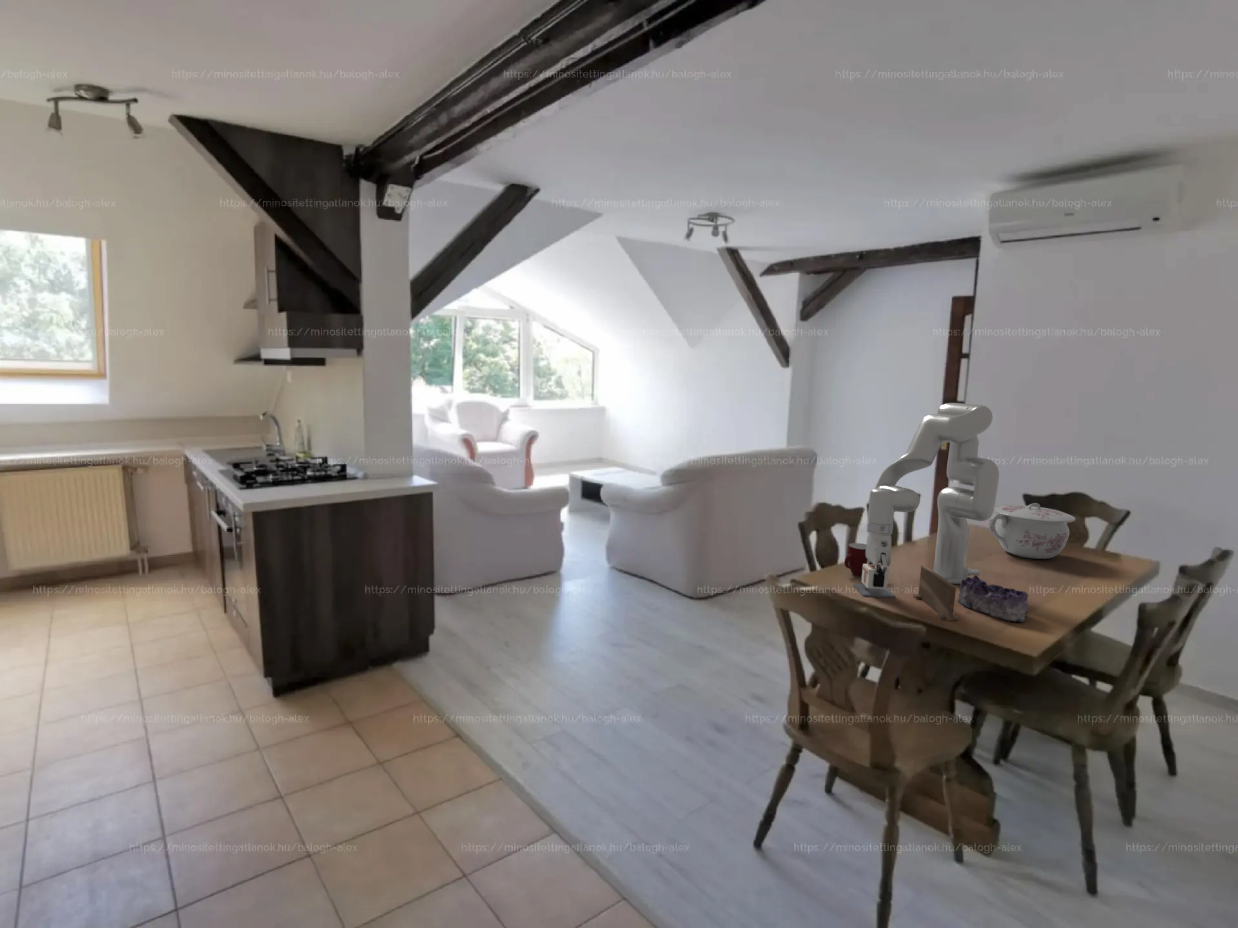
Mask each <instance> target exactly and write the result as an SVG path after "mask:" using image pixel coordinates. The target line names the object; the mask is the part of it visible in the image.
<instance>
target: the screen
mask: <svg viewBox="0 0 1238 928" xmlns="http://www.w3.org/2000/svg"><path fill="white" fill-rule="evenodd" d="M933 570H934V569H931V568H930V567H928V565H920V574H919V575H920V576H919V586H918V594H913V595H912V597H913V598H914V599H915V600H921V601H923V602H924V603H925V604H927V606H929V607H930V608H931V609H932V610H934V611H935V612H936V613H937V615H936V618H937V619H938V620H941V621H943V620H944V621H947V622H949V621H950V622H951V621H952V622H953V621H959V617H958V616H957V615H955V614H954V611H955V601H956V592H957V591H956V590H957V586H955V584H952V583H950V582H948V581H947V580H946V579H944V578H943V577H941V576H940V575H939V574H937V573H936V572H934V571H933Z"/></svg>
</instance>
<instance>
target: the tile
mask: <svg viewBox="0 0 1238 928" xmlns="http://www.w3.org/2000/svg"><path fill="white" fill-rule="evenodd" d="M852 586H853V587H854V588H855V590H857V592H858V593H859V594H860V595H861V596H862V597H867V598H868V597H870V598H871V597H874V598H896V594H894V593H893V592H892V591H891V590H890V589H889V588H888V587H887V589H880V588H867V587H866V586H865V585H864V584H863V583H861V584H860V583H859V584H858V583H852Z"/></svg>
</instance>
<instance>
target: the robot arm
mask: <svg viewBox="0 0 1238 928" xmlns="http://www.w3.org/2000/svg"><path fill="white" fill-rule="evenodd" d="M993 418H994V417H993V412H992V411H991V409H990V408H989V407H988V406H986V405H983V404H974V403H973V404H972V403H958V402H946V403H944V404H943V403H942V404H941V405H940V406H939V407H938V409H937V413H933V414H932V413H931V414H927V415H925V416H924V417H923V418H921V421H920V422H919V425H918V426H917V429H916V431H915V433H914V435H913V437H912V440H911V441H910V443H909V445H908V448H907V449H906V452H905V453H904V454H903V455H901V456H899V458H897V459H895V460H894V461H893V462H892V463H891V464H889V466H887V467H886V468H885V469H884V470H883V471H882V473H881V475H880V476H879V478H878V481H877V483H876V485H875V487H874V488H871V490H870V492H869V499H868V509H867V511H868V512H867V521H866V522H867V523H866V532H867V538H866V543H865V544H866V558H867V564H874V565H875V574H874V578H873V586H874V587H883V586H884V578H885V572H886V569H888V567H890V566H891V562H892V536H891V535H892V534H893V530H894V529H893V527H894V519H895V517H894V516H895V513H896V512H897V513H898V512H899V513H911V512H914V511H915V510H917V509H918V507H919V505H920V503H921V499H920V495H919V494H918V493H917V491H915V490H914V489H911V488H907V487H902V486H900V485H899V486H898V485H897V483H898V482H899V481H900V480H901V479H902V478H903V477H904V476H906V475H908V474H910V473H913V472H916V471H919V470H922V469H926V468H929V467H931V466H932V465H933V463H934V461H935V459H936V457H937V455H938V453H939V451H940V449H941V446H942V444H943V443H949V448H948V450H949V451H948V457H947V463H946V464H947V465H946V477H947V479H948V480H949V481H950V482H952V483H955V484H960V485H964V486H970V487H973V489H969V488H965V487H960V486H959V487H958V486H947V487H945V488H942V490H940V491H939V493H938V495H937V500H936V501H937V503H936V504H937V511H938V512H937V513H938V524H937V533H936V543H935V552H934V562H933V569H932V570H933V571H934V572H936V573H937V574H939V575H940V576H941V577H943V578H944V579H946V580H947V581H948V582H950V583H951V584H953V585H956V584H957V585H961V582H962V580H965V579H966V578H968V577H969V576H975V575H977V576H980V573H981V572H980V570H979V569H972V567H970V568H969V567H967V566H966V563H967V556H968V544H969V538H970V537H969V536H970V526H969V523H968V520H972V521H977V522H985V521H986V522H987V521H989V520H990V518H991V517H992V516H993V513H994V512H995V511H994V508H995V507H996V506H995V505H996V502H997V501H996V499H997V493H998V488H999V487H998V486H999V482H1000V481H999V480H1000V471H999V466H998V465H997V463H996V462H995V461H993V460H992V459H988V458H983V457H979V455H978V453H979V452H978V451H979V437H978V435H980V434H982V433H984V432H985V431H986V430H988V428H989V427H990V426H991V425H992V422H993ZM967 519H968V520H967ZM878 567H881V568H879V569H878Z"/></svg>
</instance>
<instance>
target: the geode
mask: <svg viewBox="0 0 1238 928" xmlns="http://www.w3.org/2000/svg"><path fill="white" fill-rule="evenodd" d="M957 594H958V599H957V603H958V604H960V605H961V606H963V607H964V608H969V609H972V610H974V611H978V612H981V613H984V614H986V615H989V616H992V617H994V618H998V619H1002V620H1006V621H1011V622H1017V623H1020V624H1022V623H1024V622H1025V620H1026V615H1027V614H1028V611H1029V602H1028V598H1029V594H1028V593H1027V592H1026V591H1023V590H1016V589H1014V588H1011V587H1010V588H1008V587H1003V586H1002V585H998V584H997V585H996V584H988V583H987V582H986V581H985V580H983V579H981V578H980V577H979V576H978V575H973V576H972V578H971V577H969V576H968V578H966V579H965V580H962V582H961V584H960V586H959V591H958V592H957Z"/></svg>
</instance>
